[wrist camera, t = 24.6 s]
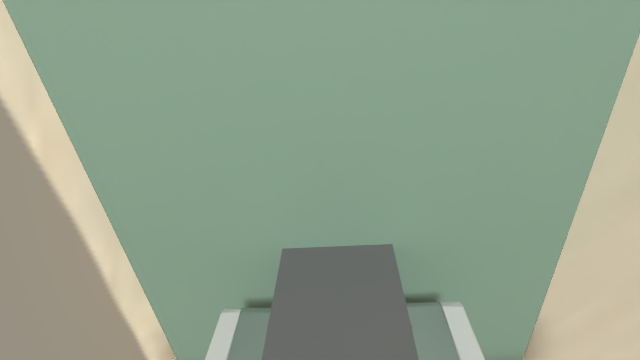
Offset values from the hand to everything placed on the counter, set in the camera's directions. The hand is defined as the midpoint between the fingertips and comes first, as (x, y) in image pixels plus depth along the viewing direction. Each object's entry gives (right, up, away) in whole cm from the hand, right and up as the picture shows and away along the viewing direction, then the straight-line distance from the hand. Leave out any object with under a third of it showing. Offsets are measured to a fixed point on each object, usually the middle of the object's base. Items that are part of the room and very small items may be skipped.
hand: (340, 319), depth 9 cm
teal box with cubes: (0, +1, +2) cm, 2 cm away
